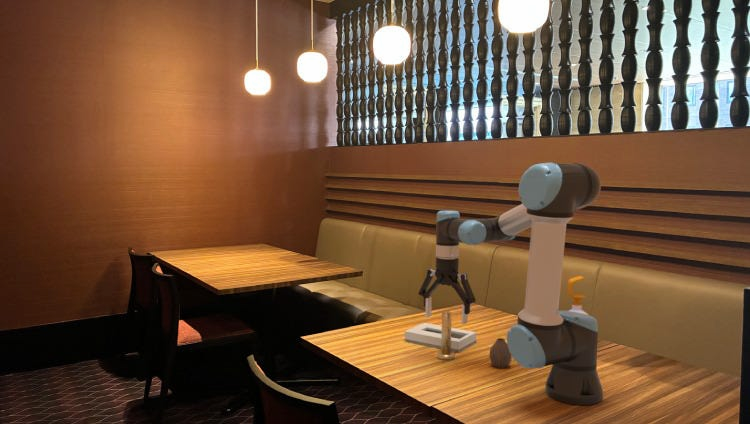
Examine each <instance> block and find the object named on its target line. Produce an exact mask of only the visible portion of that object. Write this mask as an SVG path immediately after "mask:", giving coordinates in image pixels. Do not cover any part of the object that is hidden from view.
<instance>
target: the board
mask: <svg viewBox="0 0 750 424" xmlns="http://www.w3.org/2000/svg"><path fill="white" fill-rule="evenodd" d="M405 341H406V342H407V343H410V342H411V344H414V345H415V344H416V345H420V346H425V347H430V348H435V349H439V350H442V325H438V324H433V323H425V322H423V323H420V324H418V325H416V326H413V327H411V328H408V329H406V330H404V342H405ZM476 343H477V332H476V331H472V330H471V331H470V330H465V329H459V328H454V327H451V351H452V352H454V353H461V352H462V351H463V350H466V349H467V348H469V347H471V346H473V345H474V344H476Z"/></svg>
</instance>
